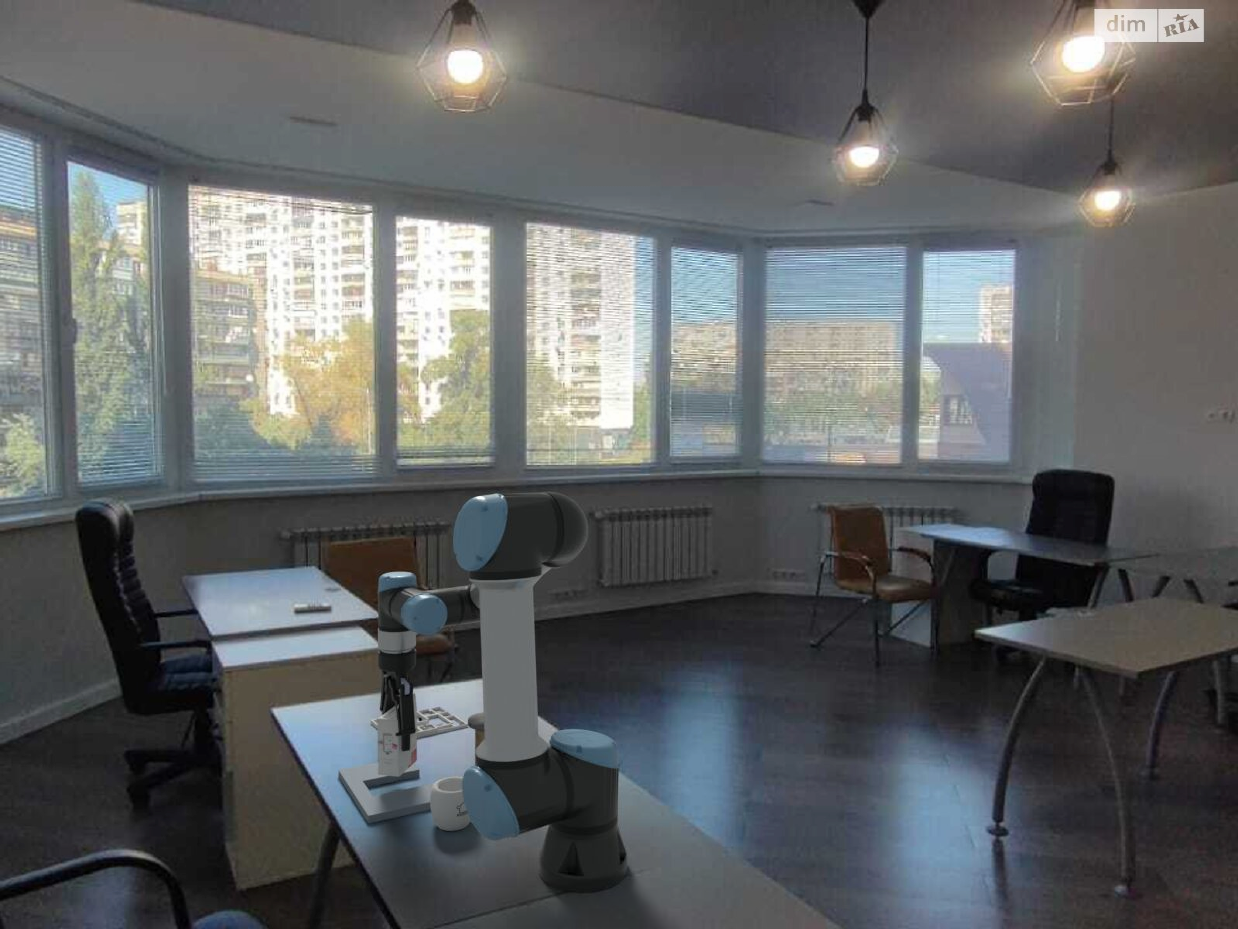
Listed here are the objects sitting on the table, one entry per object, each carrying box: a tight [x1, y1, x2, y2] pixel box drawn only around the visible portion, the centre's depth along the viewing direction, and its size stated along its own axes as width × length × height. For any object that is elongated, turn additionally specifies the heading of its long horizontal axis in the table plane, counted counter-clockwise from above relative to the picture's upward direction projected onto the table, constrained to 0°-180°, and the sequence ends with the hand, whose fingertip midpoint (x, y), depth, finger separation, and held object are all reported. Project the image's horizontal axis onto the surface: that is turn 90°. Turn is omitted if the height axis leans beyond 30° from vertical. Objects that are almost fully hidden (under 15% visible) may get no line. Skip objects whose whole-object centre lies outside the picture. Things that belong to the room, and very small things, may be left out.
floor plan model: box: [370, 706, 469, 739], centre depth 213 cm, size 19×25×2 cm
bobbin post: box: [467, 711, 485, 766], centre depth 178 cm, size 10×10×14 cm
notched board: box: [338, 761, 434, 824], centre depth 176 cm, size 24×15×2 cm, turn 31°
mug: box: [430, 776, 472, 832], centre depth 163 cm, size 12×8×8 cm
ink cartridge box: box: [377, 692, 418, 777], centre depth 176 cm, size 9×5×15 cm, turn 168°
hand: (396, 756), depth 177 cm, fingers closed on ink cartridge box, 9 cm apart
